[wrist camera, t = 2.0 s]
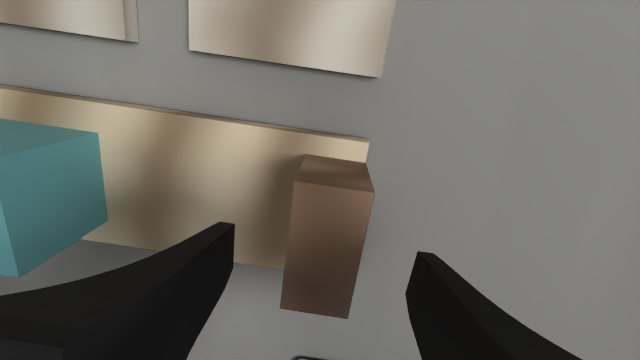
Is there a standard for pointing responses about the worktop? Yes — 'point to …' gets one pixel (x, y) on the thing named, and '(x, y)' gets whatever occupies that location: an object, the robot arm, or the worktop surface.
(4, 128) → the cube
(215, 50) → the broken strip
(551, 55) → the worktop surface
